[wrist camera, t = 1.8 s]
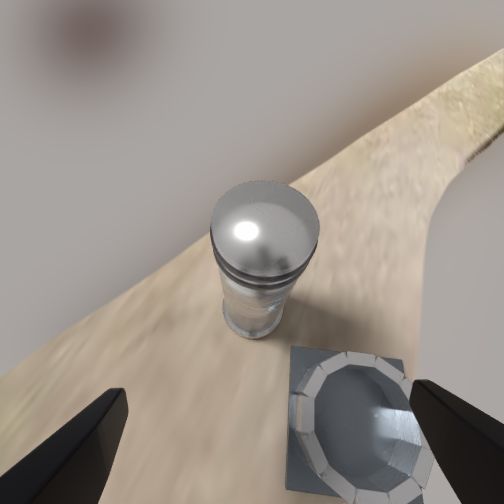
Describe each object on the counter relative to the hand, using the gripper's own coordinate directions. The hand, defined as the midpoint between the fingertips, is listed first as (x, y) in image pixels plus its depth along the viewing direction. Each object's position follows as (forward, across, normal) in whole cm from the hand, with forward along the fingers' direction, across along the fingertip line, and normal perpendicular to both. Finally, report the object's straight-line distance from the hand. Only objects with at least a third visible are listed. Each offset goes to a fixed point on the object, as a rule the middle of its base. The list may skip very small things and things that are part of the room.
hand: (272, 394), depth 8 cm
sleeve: (+8, -7, +10) cm, 14 cm away
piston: (+13, 0, +4) cm, 14 cm away
